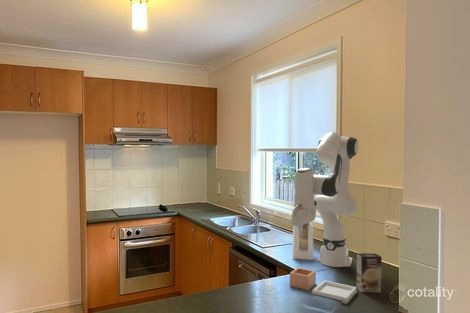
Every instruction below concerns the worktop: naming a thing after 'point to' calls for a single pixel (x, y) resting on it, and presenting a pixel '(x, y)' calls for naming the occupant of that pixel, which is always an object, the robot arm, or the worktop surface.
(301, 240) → the pin
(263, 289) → the worktop surface
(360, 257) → the coffee box
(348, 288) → the tray
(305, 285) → the orange open box
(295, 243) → the milk
